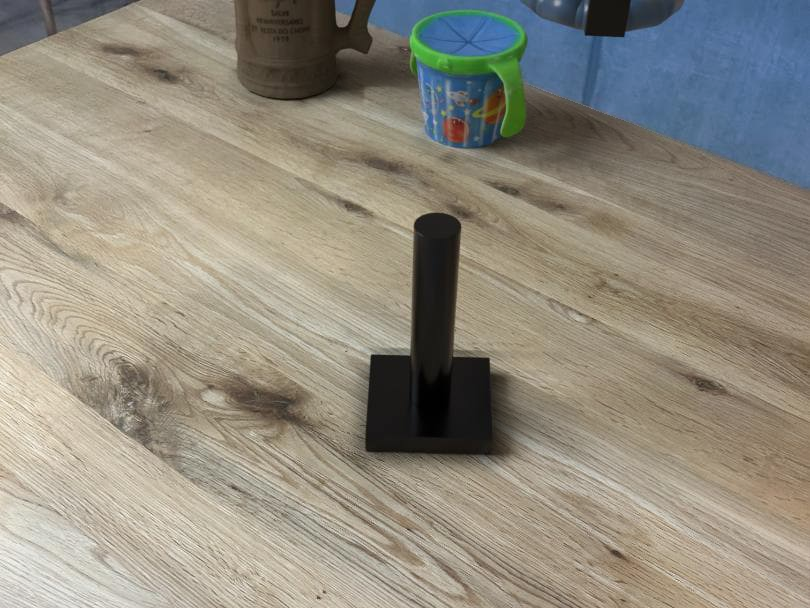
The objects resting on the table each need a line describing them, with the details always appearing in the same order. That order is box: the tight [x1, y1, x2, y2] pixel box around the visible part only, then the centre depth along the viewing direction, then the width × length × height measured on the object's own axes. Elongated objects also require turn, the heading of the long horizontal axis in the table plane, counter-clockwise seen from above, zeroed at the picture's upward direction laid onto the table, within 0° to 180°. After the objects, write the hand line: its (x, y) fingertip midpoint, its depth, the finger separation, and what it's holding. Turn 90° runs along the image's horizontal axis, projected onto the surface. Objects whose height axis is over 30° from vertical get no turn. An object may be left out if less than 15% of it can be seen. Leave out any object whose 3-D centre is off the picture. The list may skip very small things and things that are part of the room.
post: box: [364, 212, 495, 455], centre depth 72 cm, size 9×9×16 cm
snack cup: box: [409, 9, 529, 149], centre depth 100 cm, size 16×10×10 cm
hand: (602, 24), depth 73 cm, fingers closed on ring, 2 cm apart
